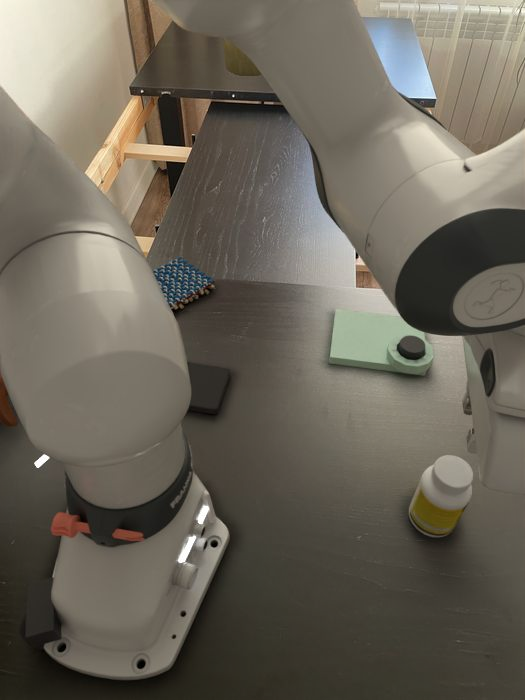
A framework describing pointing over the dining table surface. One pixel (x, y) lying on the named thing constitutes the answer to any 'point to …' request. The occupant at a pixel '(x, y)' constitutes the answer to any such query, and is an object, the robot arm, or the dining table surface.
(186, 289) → the woven mat
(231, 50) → the vase
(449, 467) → the supplement bottle
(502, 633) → the dining table surface
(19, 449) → the dining table surface
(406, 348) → the tare button
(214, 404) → the phone
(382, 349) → the scale
